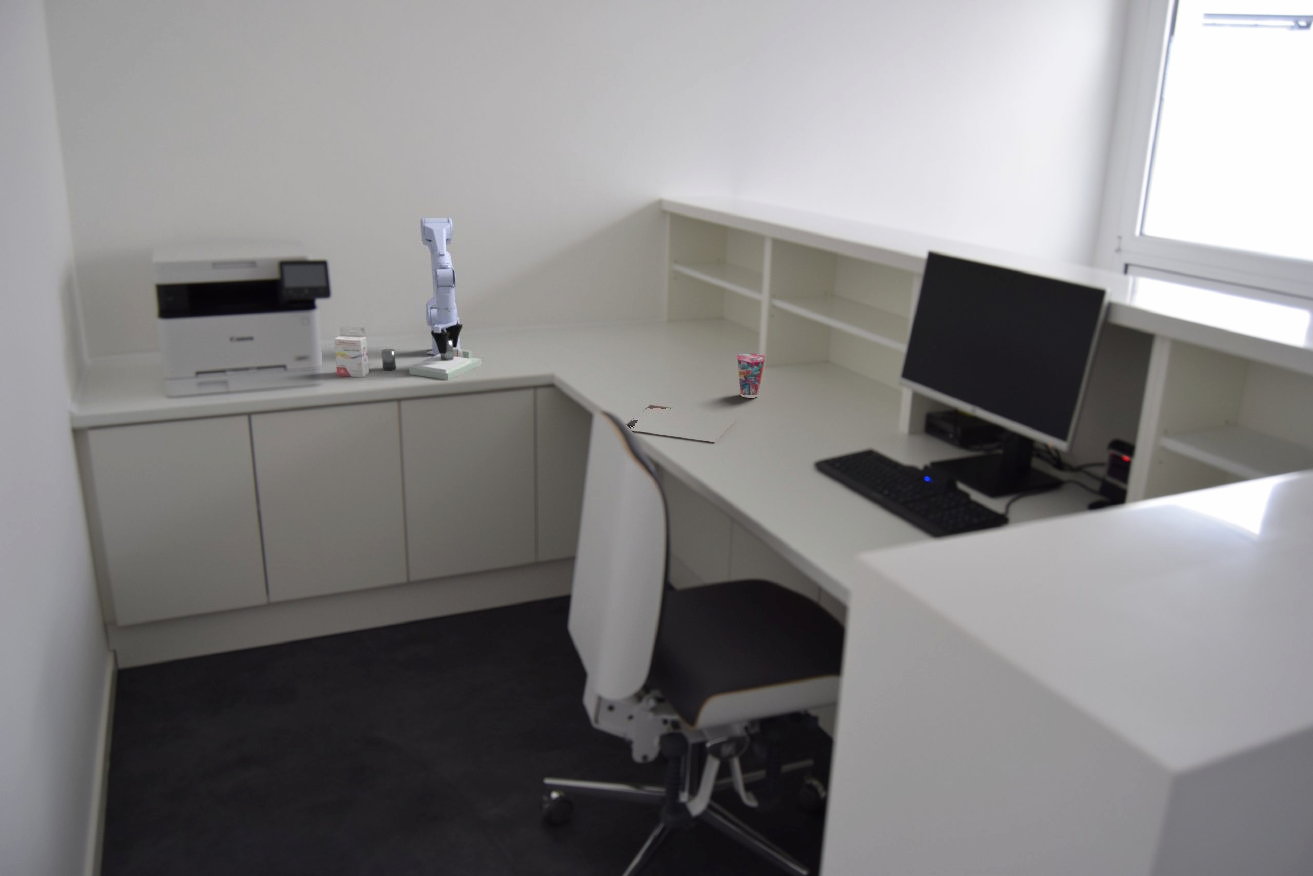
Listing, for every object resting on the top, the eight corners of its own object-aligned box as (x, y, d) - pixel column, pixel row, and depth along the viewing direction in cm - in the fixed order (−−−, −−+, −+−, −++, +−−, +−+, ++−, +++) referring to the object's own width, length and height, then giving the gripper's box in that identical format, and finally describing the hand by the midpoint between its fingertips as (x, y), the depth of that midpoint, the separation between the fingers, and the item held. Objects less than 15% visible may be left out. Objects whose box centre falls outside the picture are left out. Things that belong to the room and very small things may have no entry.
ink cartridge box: (336, 376, 304) (332, 329, 299) (342, 371, 309) (338, 325, 304) (363, 377, 303) (359, 330, 298) (369, 373, 308) (366, 326, 303)
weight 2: (444, 356, 316) (443, 338, 314) (455, 357, 315) (454, 339, 314) (438, 359, 313) (437, 341, 311) (450, 360, 312) (449, 341, 310)
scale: (444, 359, 324) (443, 344, 323) (481, 364, 319) (480, 349, 318) (409, 374, 308) (408, 358, 306) (448, 379, 303) (447, 364, 301)
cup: (729, 393, 296) (731, 354, 292) (755, 390, 299) (757, 352, 295) (744, 402, 288) (746, 362, 284) (770, 399, 291) (772, 359, 287)
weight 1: (388, 366, 315) (386, 348, 313) (398, 368, 314) (397, 349, 312) (380, 369, 312) (378, 351, 310) (390, 371, 310) (389, 352, 308)
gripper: (444, 301, 316) (446, 343, 320) (423, 311, 303) (425, 354, 307) (464, 303, 314) (466, 345, 319) (444, 313, 301) (447, 356, 306)
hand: (448, 350), depth 313 cm, fingers open, 7 cm apart
